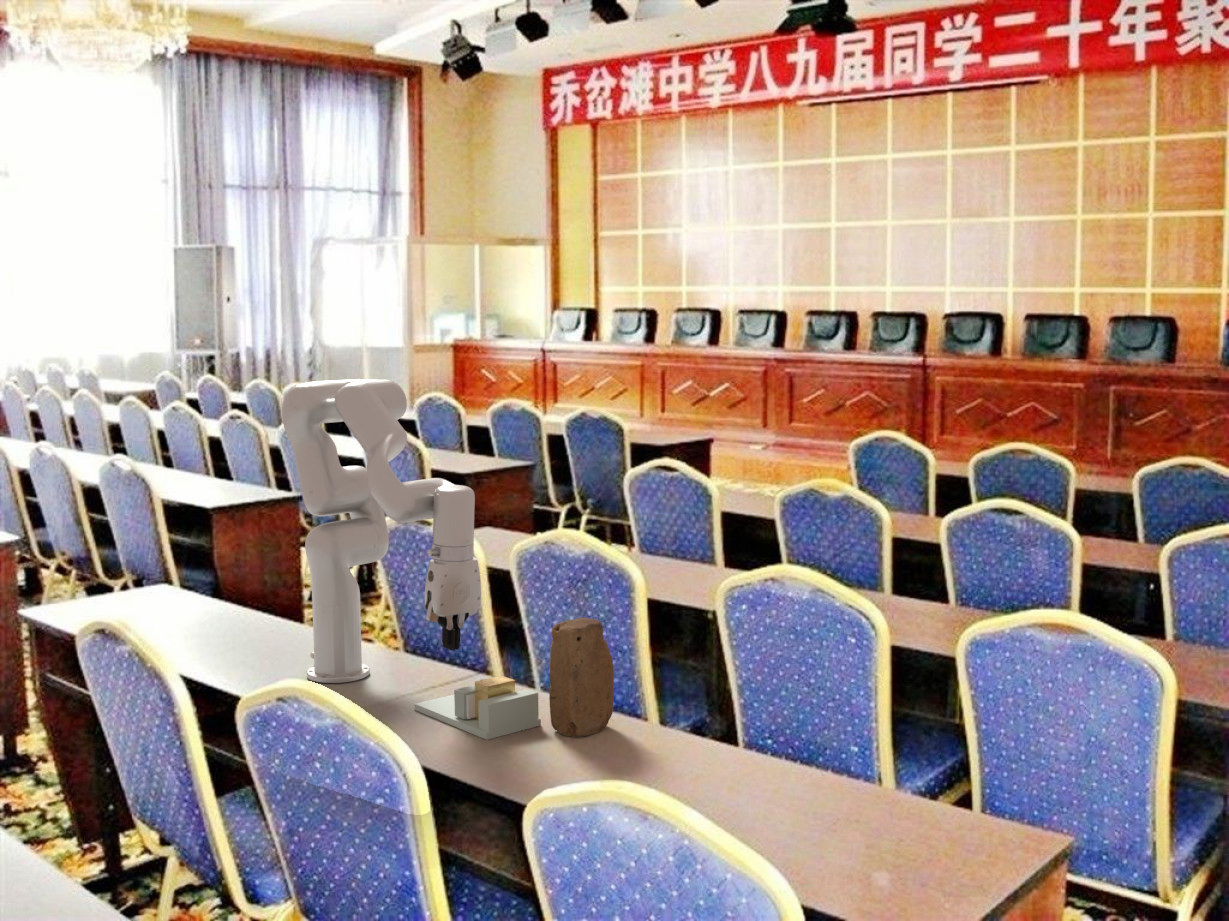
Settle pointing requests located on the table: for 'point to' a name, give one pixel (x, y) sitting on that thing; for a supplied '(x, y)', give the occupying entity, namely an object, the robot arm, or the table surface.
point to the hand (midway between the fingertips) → (451, 647)
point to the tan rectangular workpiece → (492, 689)
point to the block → (580, 678)
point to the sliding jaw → (465, 702)
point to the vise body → (489, 713)
